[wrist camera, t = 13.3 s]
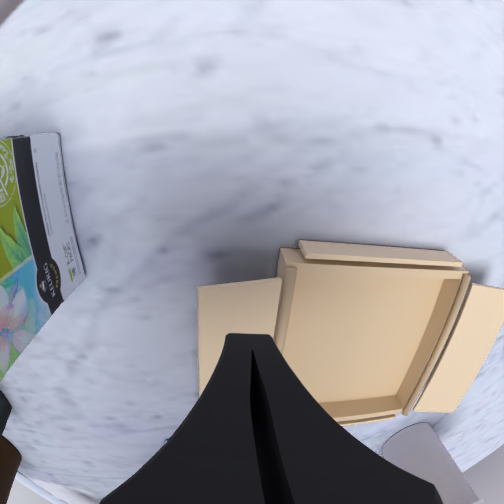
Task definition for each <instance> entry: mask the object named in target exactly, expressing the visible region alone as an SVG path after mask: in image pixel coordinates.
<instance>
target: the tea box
mask: <svg viewBox="0 0 504 504" xmlns="http://www.w3.org/2000/svg"><path fill="white" fill-rule="evenodd" d="M84 278H85V274H84V270H83V266H82V261H81V258H80V254H79V251H78V247H77V242H76V237H75V232H74V228H73V223H72V217H71V212H70V206H69V201H68V196H67V190H66V183H65V177H64V170H63V161H62V155H61V146H60V135H59V134H57V133H55V132H50V133H36V134H28V135H20V136H9V137H1V138H0V381H1V379H2V378H3V377H4V375H5V374H6V372H7V371H8V370H9V368H10V367H11V366H12V364H13V363H14V362H15V360H16V359H17V358H18V357H19V355H20V354H21V353H22V352H23V350H24V349H25V348H26V346H27V345H28V344H29V343H30V342H31V340H32V339H33V338H34V337H35V335H36V334H37V333H38V332H39V330H40V329H41V328H42V327H43V325H44V324H45V323H46V322H47V321H48V319H49V318H50V317H51V316H52V314H53V313H54V312H55V311H56V309H57V308H58V307H59V306H60V304H61V303H62V302H64V301H65V300H66V299H67V297H68V296H69V295H70V294H71V293H72V292H73V291H74V290H75V288H76V287H77V286H78V285H79V284H80V283H81V282H82V281H83V279H84Z"/></svg>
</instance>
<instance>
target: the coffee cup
mask: <svg viewBox="0 0 504 504" xmlns="http://www.w3.org/2000/svg"><path fill="white" fill-rule="evenodd" d="M382 453H383V457H384V459H386V460H387V461H389V462H391V463H392V464H394V465H396V466H397V467H399V468H401V469H403V470H405V471H407V472H409V473H411V474H413V475H415V476H417V477H419V478H421V479H423V480H426V481H428V482H430V483H432V484H434V485H435V487H436V489H437V491H438V493H439V495H440V496H441V499H442V501H443V504H485V499H481V500H479V498H478V497H477V495H476V494H475V492H474V491H473V489H472V487H471V486H470V484H469V483H468V482H467V480H466V478H465V477H464V475H463V474H462V472H461V471H460V469H459V468H458V466H457V465H456V463H455V462H454V460H453V459H452V457H451V455H450V454H449V452H448V451H447V450H446V448H445V447H444V445H443V444H442V442H441V441H440V439H439V438H438V436H437V435H436V433H435V432H434V430H433V429H432V427H431V426H430V425H429V424H428V423H418V424H414V425H411V426H409V427H406V428H404V429H403V430H401V431H399V432H397V433H396V434H394V435H393V436H392V437H391V438H389V439H388V440H387V441H386V443H385V444H384V445H383V447H382Z"/></svg>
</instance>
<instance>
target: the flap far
mask: <svg viewBox="0 0 504 504" xmlns="http://www.w3.org/2000/svg"><path fill="white" fill-rule="evenodd" d="M503 323H504V289H503V288H498V287H493V286H487V285H482V284H476V283H471V285H470V288H469V291H468V294H467V296H466V299H465V302H464V304H463V307H462V310H461V312H460V315H459V317H458V319H457V322H456V324H455V327H454V329H453V331H452V334H451V336H450V338H449V340H448V343H447V345H446V347H445V349H444V351H443V353H442V355H441V357H440V359H439V362H438V364H437V366H436V368H435V370H434V371H433V373H432V375H431V377H430V379H429V381H428V383H427V385H426V387H425V388H424V390H423V392H422V394H421V396H420V397H419V399H418V401H417V403H416V404H415V406H414V408H413V411H418V412H445V413H453V412H454V411H455V409H456V408H457V406H458V405H459V403H460V402H461V400H462V399H463V397H464V395H465V394H466V392H467V391H468V389H469V387H470V386H471V384H472V382H473V381H474V379H475V377H476V376H477V374H478V372H479V370H480V368H481V367H482V365H483V363H484V361H485V359H486V357H487V356H488V354H489V352H490V350H491V348H492V346H493V344H494V342H495V340H496V338H497V336H498V333H499V331H500V329H501V327H502V325H503Z"/></svg>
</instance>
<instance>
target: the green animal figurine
mask: <svg viewBox="0 0 504 504" xmlns="http://www.w3.org/2000/svg"><path fill="white" fill-rule="evenodd" d="M11 409H12V406H11V405H10V403H9V402H8V400H7V398H6V397H5V396H4V394H3V393H2V392H1V391H0V437H1V435H2V433H3V431H4V428H5V426H6V423H7V420H8V417H9V415H10V412H11Z"/></svg>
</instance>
